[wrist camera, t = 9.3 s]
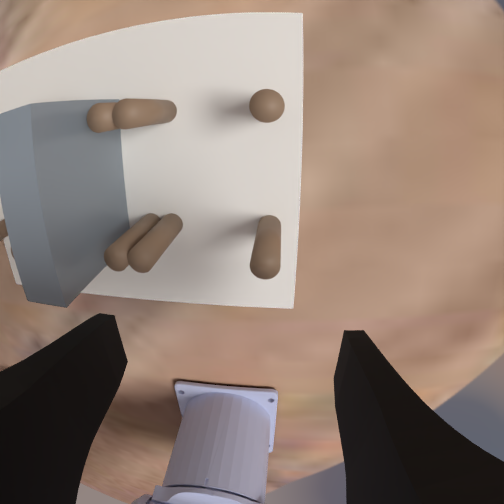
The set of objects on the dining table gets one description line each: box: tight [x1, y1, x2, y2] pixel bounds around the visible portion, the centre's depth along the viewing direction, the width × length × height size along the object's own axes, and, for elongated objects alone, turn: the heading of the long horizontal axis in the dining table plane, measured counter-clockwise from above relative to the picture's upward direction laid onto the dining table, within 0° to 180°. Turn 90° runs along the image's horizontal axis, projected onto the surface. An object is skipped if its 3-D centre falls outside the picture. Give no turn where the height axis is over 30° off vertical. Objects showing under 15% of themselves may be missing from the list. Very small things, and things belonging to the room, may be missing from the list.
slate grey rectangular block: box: [0, 99, 130, 308], centre depth 13 cm, size 8×2×7 cm, turn 0°
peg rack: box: [0, 12, 303, 309], centre depth 15 cm, size 16×21×6 cm
